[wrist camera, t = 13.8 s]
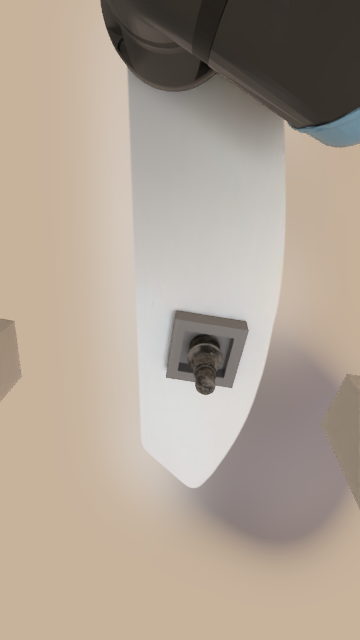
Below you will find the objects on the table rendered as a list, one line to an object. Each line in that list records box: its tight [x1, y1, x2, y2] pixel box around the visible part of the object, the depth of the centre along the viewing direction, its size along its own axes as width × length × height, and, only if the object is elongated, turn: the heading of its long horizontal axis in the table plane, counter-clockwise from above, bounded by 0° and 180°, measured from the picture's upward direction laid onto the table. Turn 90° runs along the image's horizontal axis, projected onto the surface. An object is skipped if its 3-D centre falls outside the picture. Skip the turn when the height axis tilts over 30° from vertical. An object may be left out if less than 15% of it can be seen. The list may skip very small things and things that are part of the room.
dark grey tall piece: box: [187, 334, 223, 395], centre depth 46 cm, size 6×6×12 cm
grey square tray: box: [166, 311, 248, 388], centre depth 51 cm, size 12×12×3 cm
